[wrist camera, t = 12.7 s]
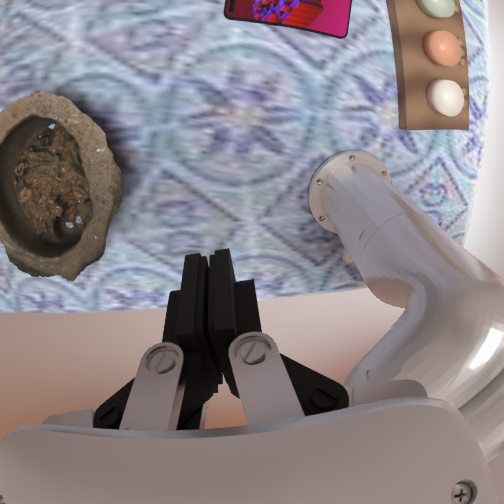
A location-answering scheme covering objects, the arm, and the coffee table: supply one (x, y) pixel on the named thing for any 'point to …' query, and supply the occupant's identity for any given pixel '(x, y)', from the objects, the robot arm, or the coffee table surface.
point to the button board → (425, 66)
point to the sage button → (437, 8)
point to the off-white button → (445, 97)
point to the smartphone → (294, 14)
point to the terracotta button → (442, 48)
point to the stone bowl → (54, 186)
